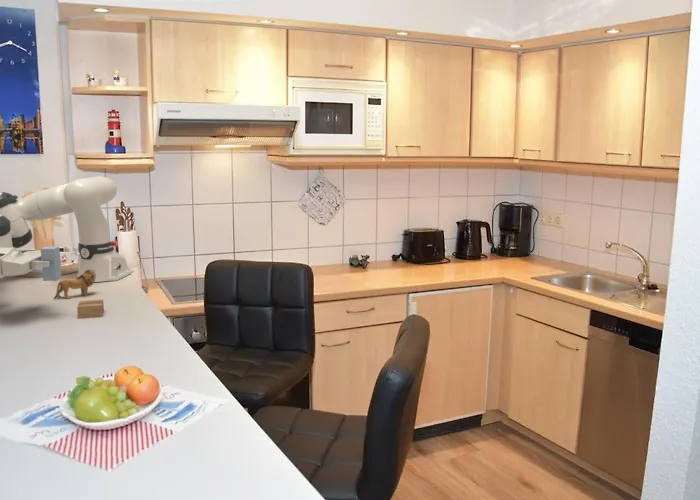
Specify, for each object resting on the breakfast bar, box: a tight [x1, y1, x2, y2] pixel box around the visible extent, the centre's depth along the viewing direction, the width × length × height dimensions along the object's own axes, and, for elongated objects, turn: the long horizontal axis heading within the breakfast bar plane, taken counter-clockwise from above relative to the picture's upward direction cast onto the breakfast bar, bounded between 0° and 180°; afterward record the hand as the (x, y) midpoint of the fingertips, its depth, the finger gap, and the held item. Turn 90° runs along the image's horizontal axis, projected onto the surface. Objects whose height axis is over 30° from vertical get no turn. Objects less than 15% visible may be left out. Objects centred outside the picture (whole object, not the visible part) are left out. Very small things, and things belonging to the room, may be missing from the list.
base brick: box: [76, 298, 105, 319], centre depth 207 cm, size 7×7×4 cm
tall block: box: [40, 246, 62, 282], centre depth 203 cm, size 4×4×10 cm
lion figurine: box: [53, 269, 96, 300], centre depth 227 cm, size 15×5×9 cm, turn 133°
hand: (54, 261), depth 203 cm, fingers closed on tall block, 4 cm apart
